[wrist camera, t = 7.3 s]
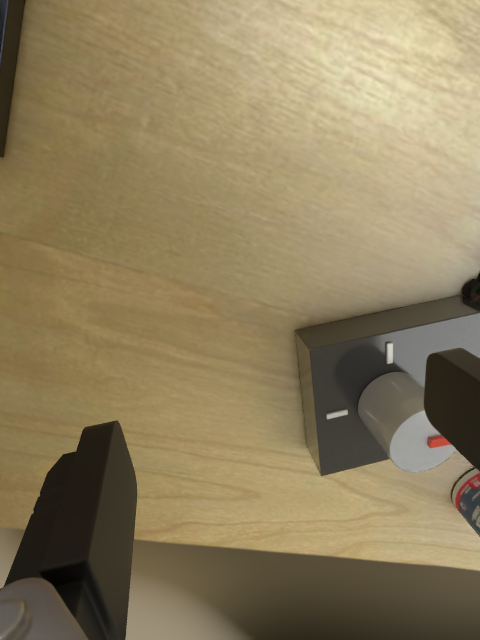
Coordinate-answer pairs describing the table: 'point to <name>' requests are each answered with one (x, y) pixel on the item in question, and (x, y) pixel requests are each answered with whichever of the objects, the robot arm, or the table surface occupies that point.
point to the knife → (473, 289)
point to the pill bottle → (469, 498)
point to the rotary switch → (371, 370)
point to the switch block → (8, 58)
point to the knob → (402, 422)
